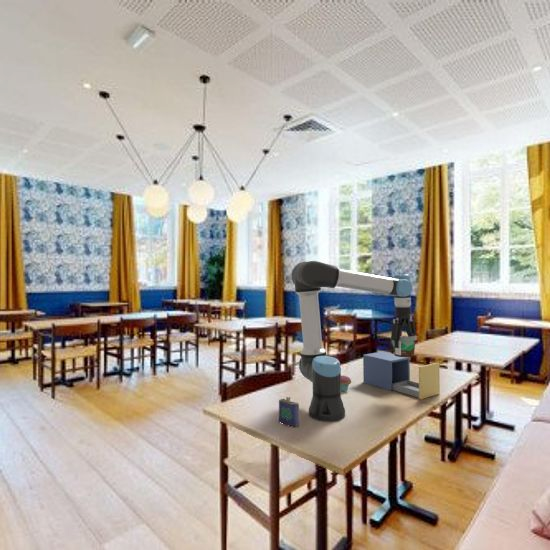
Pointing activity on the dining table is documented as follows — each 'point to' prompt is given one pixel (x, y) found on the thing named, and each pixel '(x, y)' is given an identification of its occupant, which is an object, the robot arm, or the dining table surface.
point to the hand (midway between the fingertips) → (404, 353)
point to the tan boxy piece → (421, 383)
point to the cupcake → (345, 382)
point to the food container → (406, 346)
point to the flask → (289, 412)
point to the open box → (385, 369)
